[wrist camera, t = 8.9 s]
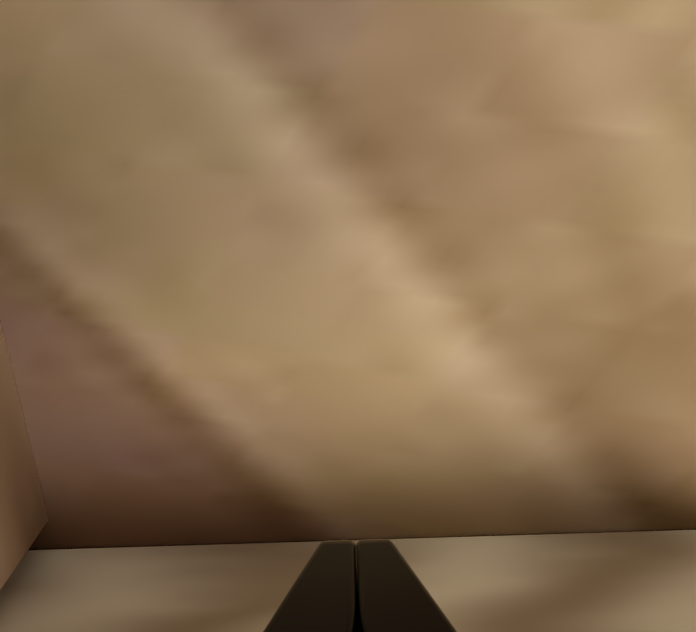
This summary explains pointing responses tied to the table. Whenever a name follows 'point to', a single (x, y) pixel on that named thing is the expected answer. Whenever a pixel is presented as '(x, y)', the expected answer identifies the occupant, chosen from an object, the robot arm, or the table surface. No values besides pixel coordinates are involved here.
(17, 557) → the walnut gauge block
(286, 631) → the robot arm
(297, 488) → the table surface
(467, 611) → the rail
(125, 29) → the table surface
